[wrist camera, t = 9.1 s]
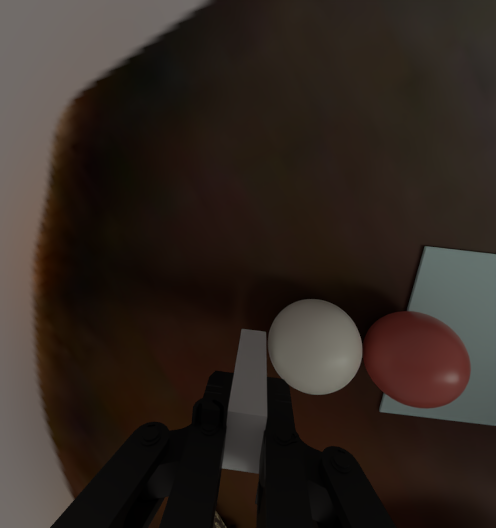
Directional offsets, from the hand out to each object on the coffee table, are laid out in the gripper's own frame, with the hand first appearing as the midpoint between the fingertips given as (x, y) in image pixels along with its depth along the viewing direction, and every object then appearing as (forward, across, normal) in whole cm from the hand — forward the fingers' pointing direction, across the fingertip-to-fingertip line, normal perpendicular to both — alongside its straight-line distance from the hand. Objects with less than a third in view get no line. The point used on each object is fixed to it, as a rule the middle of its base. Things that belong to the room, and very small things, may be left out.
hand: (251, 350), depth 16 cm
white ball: (+1, -4, 0) cm, 4 cm away
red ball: (+2, -11, 0) cm, 11 cm away
